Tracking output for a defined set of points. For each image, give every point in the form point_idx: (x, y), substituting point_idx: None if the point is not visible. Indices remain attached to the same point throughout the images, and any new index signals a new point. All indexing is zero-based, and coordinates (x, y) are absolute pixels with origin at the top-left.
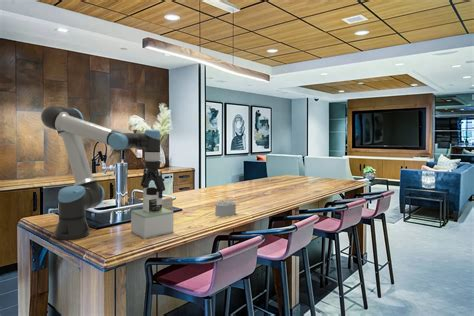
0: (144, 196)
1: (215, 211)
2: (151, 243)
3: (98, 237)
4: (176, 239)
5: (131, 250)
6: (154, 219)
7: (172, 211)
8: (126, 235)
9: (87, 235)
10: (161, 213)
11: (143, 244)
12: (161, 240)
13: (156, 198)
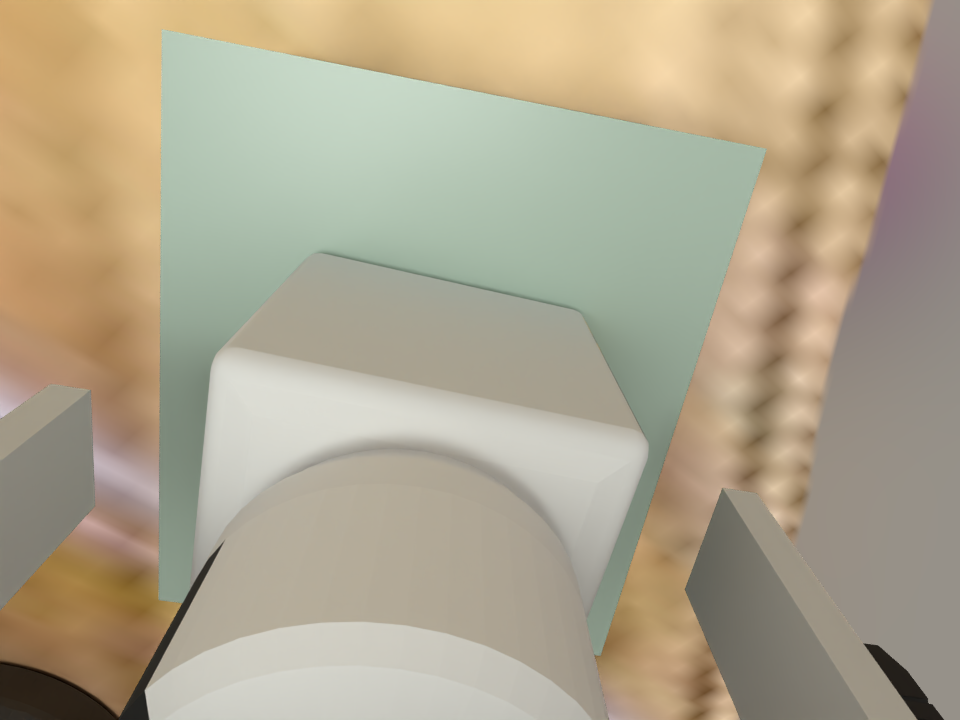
0: (30, 555)
1: None
2: (710, 509)
3: None
4: (846, 282)
5: (697, 683)
6: None
7: (745, 160)
8: None
9: (104, 709)
10: (679, 405)
11: (670, 563)
12: (729, 401)
13: (594, 591)
